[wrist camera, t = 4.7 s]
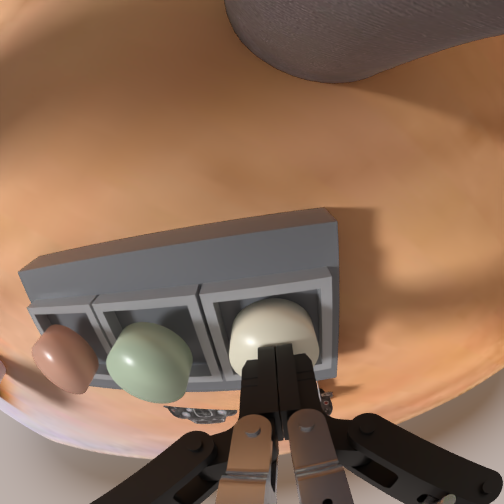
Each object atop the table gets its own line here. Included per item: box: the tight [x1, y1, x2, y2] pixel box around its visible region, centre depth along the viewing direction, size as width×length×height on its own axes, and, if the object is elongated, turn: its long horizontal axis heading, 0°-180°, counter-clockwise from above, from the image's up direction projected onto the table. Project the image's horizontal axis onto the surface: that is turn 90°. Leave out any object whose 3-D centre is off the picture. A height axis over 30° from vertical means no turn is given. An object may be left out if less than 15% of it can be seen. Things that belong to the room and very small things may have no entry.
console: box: [18, 207, 339, 392], centre depth 15 cm, size 10×19×4 cm, turn 99°
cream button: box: [229, 298, 319, 376], centre depth 13 cm, size 4×4×2 cm
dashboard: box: [164, 382, 333, 438], centre depth 19 cm, size 15×7×4 cm, turn 105°
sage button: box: [106, 322, 193, 403], centre depth 12 cm, size 4×4×2 cm
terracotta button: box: [32, 324, 99, 394], centre depth 13 cm, size 4×4×2 cm
